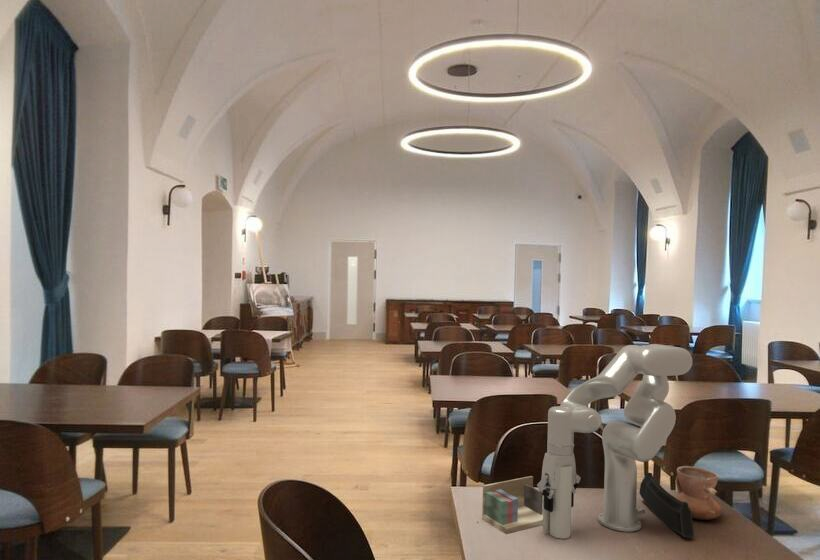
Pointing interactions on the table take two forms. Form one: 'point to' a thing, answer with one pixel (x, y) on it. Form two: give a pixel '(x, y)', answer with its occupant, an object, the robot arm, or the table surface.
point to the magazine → (667, 507)
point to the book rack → (512, 505)
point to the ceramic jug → (698, 491)
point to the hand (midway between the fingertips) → (558, 507)
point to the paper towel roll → (560, 507)
